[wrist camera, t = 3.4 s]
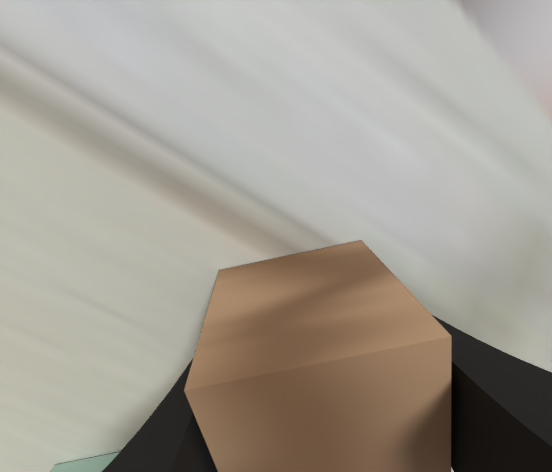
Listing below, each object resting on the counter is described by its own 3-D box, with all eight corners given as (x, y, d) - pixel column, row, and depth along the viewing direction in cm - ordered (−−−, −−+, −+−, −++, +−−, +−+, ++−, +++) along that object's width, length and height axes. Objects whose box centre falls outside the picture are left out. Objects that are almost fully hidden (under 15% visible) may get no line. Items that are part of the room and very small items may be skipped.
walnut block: (361, 240, 10) (451, 336, 5) (373, 353, 12) (451, 503, 7) (219, 270, 10) (184, 390, 5) (252, 378, 12) (247, 542, 7)
